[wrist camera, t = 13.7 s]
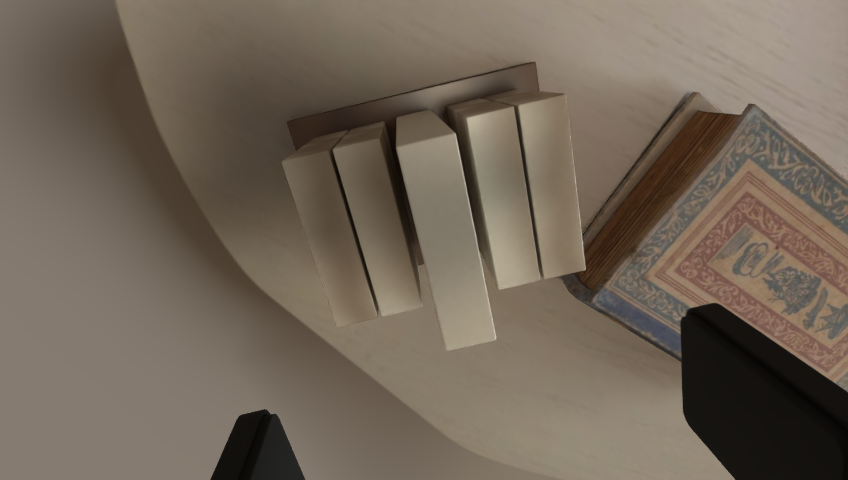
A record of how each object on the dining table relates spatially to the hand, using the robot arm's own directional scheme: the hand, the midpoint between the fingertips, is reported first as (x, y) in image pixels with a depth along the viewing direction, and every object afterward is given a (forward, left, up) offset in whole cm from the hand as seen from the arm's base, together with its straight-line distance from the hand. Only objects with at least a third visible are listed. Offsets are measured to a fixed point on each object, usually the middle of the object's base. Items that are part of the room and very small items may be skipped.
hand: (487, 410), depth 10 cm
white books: (0, 0, -26) cm, 26 cm away
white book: (0, 0, -25) cm, 25 cm away
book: (+23, -13, -27) cm, 38 cm away
